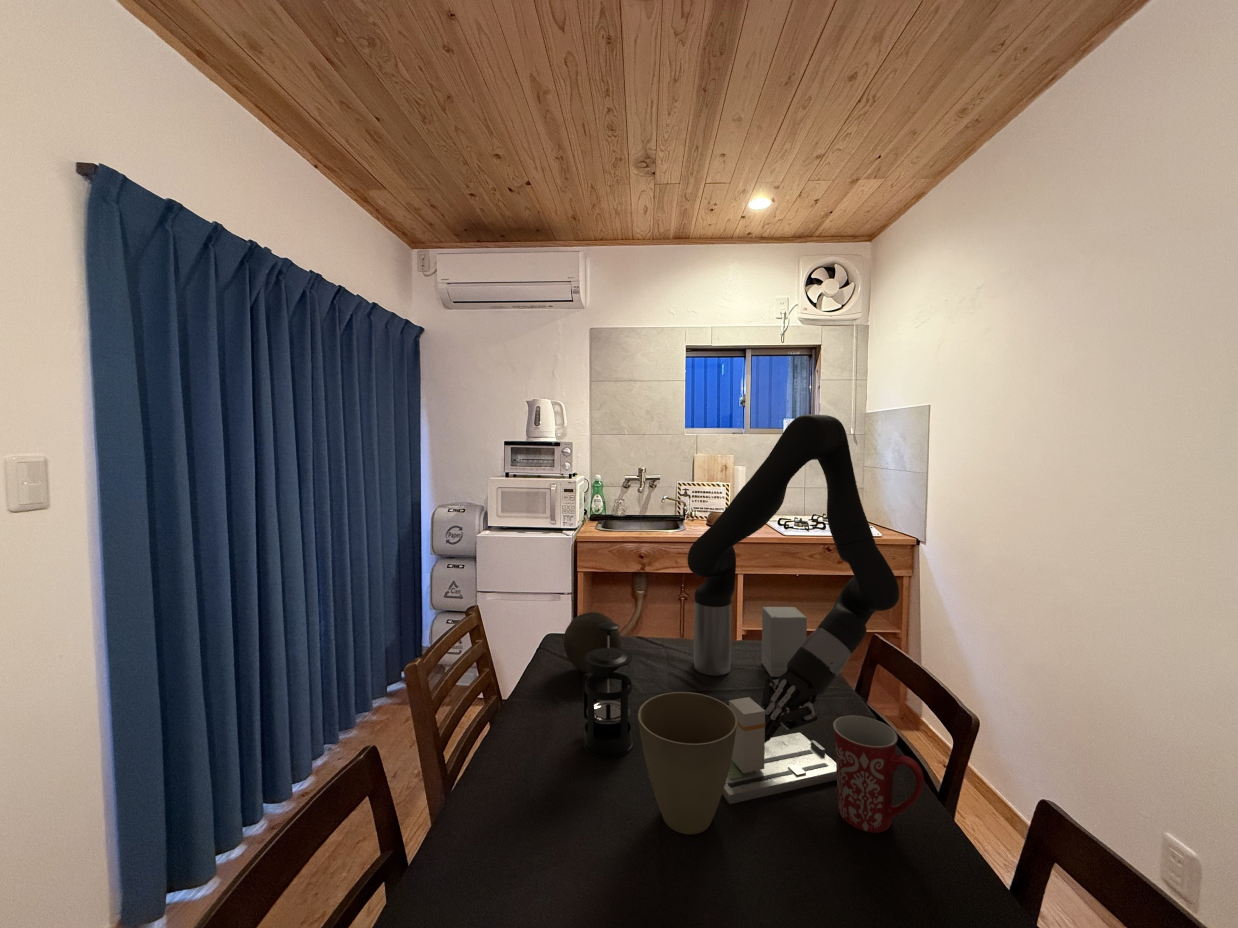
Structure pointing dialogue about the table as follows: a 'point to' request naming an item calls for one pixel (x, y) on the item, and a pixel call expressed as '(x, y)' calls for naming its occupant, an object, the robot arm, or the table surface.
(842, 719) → the mug
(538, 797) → the table surface
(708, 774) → the plant pot
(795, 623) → the supplement box
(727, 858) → the table surface
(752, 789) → the console
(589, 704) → the french press
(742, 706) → the fader knob
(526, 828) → the table surface
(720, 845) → the table surface
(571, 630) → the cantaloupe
